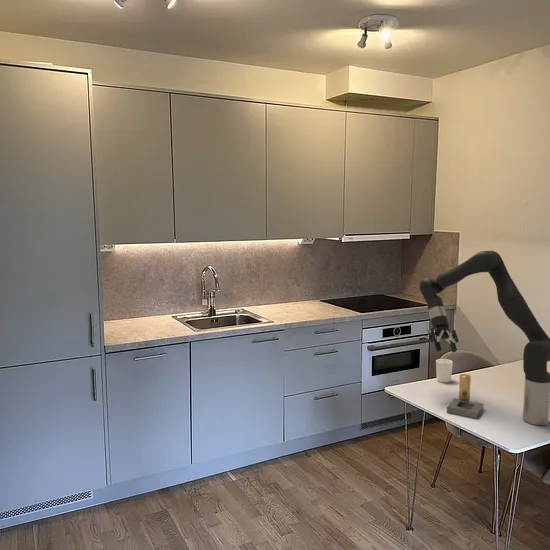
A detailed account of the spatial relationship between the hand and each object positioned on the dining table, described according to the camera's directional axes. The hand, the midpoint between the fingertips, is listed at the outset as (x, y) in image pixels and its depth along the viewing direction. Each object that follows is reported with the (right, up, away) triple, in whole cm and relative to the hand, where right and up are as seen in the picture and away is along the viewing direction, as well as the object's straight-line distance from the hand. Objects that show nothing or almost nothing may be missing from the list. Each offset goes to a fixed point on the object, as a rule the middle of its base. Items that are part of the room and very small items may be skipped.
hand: (447, 351), depth 224 cm
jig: (+4, -23, -12) cm, 27 cm away
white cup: (+8, -19, +27) cm, 34 cm away
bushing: (+7, -22, -2) cm, 23 cm away
